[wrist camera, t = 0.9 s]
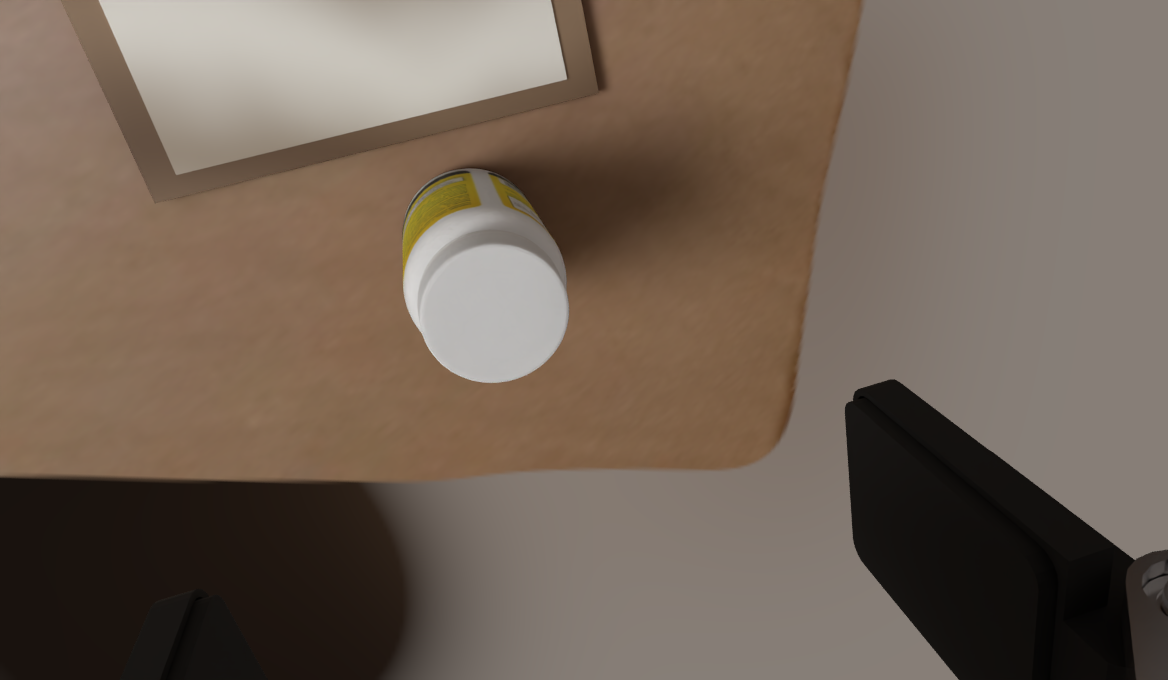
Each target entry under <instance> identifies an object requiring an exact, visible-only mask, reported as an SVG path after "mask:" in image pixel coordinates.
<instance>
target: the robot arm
mask: <svg viewBox="0 0 1168 680" xmlns="http://www.w3.org/2000/svg"><path fill="white" fill-rule="evenodd" d="M845 420H846V436H847V451H848V467H849V482H850V498H851V513H852V529H853V540H854V545H855V548H856V551H857V553H858V555H859V557H860V559H861V561H862V562H863V563H864V565H865V566H866V567H867V568H868V570H869V571H870V572H871V573H872V574H873V576H874V577H875V578H876V579H877V581H878V582H879V583H880V584H881V585H882V587H883V588H884V589H885V590H886V592H887V593H888V594H889V595H890V596H891V598H892V599H893V600H894V601H895V603H896V604H897V605H898V606H899V607H900V609H901V610H902V611H903V612H904V614H905V615H906V616H907V617H908V618H909V620H910V621H911V622H912V623H913V624H914V626H915V627H916V628H917V629H918V631H919V632H920V633H921V634H922V635H923V637H924V638H925V639H926V640H927V642H928V643H929V644H930V645H931V646H932V648H933V649H934V650H935V651H936V653H938V655H939V656H940V657H941V659H942V660H943V661H944V662H945V663H946V665H947V666H948V667H949V668H950V670H952V672H953V673H954V674H955V676H956V677H957V678H958V679H959V680H1168V550H1162V551H1155V552H1151V553H1148V554H1146V555H1144V556H1142V557H1139V558H1137V559H1136V560H1134V559H1133V558H1131V557H1130V556H1129V555H1127V554H1126V553H1125V552H1123V551H1122V550H1121V549H1119V548H1118V547H1117V546H1115V545H1114V544H1113V543H1112V542H1110V541H1109V540H1108V539H1106V538H1105V537H1104V536H1102V535H1101V534H1100V533H1098V532H1097V531H1096V530H1094V529H1093V528H1092V527H1090V526H1089V525H1088V524H1086V523H1085V522H1084V521H1083V520H1081V519H1080V518H1079V517H1077V516H1076V515H1074V514H1073V513H1072V512H1071V511H1069V510H1068V509H1067V508H1065V507H1064V506H1063V505H1062V504H1060V503H1059V502H1058V501H1056V500H1055V499H1054V498H1052V497H1051V496H1050V495H1048V494H1047V493H1046V492H1044V491H1043V490H1042V489H1040V488H1039V487H1038V486H1036V485H1035V484H1034V483H1033V482H1031V481H1030V480H1029V479H1027V478H1026V477H1025V476H1023V475H1022V474H1020V473H1019V472H1018V471H1017V470H1015V469H1014V468H1013V467H1011V466H1010V465H1009V464H1007V463H1006V462H1005V461H1003V460H1002V459H1001V458H1000V457H998V456H997V455H996V454H994V453H993V452H991V451H990V450H988V449H987V448H986V447H984V446H983V445H982V444H980V443H979V442H978V441H976V440H975V439H974V438H972V437H971V436H970V435H968V434H967V433H966V432H964V431H963V430H962V429H960V428H959V427H958V426H957V425H955V424H954V423H953V422H951V421H950V420H949V419H947V418H946V417H945V416H943V415H942V414H941V413H939V412H938V411H937V410H936V409H934V408H933V407H931V406H930V405H929V404H928V403H926V402H925V401H924V400H922V399H921V398H920V397H918V396H917V395H916V394H915V393H913V392H912V391H910V390H909V389H908V388H907V387H905V386H904V385H903V384H901V383H900V382H898V381H896V380H887V381H884V382H881V383H877V384H874V385H871V386H867V387H864V388H861V389H858V390H857V391H855V393H854V396H853V401H851V402H848V403H847V404H846V407H845ZM120 680H268V679H267V678H266V676H265V674H264V672H263V670H262V669H261V667H260V665H259V663H258V661H257V660H256V658H255V656H254V654H253V652H252V650H251V649H250V647H249V645H248V643H247V642H246V640H245V638H244V636H243V634H242V632H241V631H240V629H239V627H238V625H237V624H236V622H235V620H234V618H233V616H232V614H231V613H230V611H229V609H228V607H227V605H226V604H225V602H224V600H223V599H222V598H221V597H220V596H219V595H212V596H208V594H207V593H206V592H205V591H203V590H202V589H196V590H192V591H189V592H186V593H183V594H179V595H176V596H172V597H169V598H166V599H163V600H159V601H157V602H156V603H154V604H153V605H152V607H151V608H150V610H149V613H148V615H147V617H146V620H145V622H144V624H143V627H142V629H141V632H140V634H139V636H138V639H137V641H136V643H135V645H134V648H133V650H132V653H131V655H130V658H129V660H128V662H127V664H126V667H125V669H124V671H123V674H122V676H121V678H120Z"/></svg>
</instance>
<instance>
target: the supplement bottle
mask: <svg viewBox="0 0 1168 680" xmlns="http://www.w3.org/2000/svg"><path fill="white" fill-rule="evenodd" d="M402 240H403V290H404V297H405V302H406V305H407V308H408V311H409V313H410V316H411V318H412V319H413V321H414V323H415V325H416V326H417V328H418V329H419V330H420V332H421V333H422V335H423V337H424V340H425V342H426V344H427V346H428V348H429V350H430V351H431V353H432V354H433V355H434V356H435V358H436V359H437V360H438V361H439V362H440V363H441V364H442V365H443V366H445V367H446V368H447V369H449V370H450V371H451V372H453V373H455V374H457V375H459V376H461V377H464V378H466V379H469V380H473V381H478V382H487V383H498V382H505V381H511V380H514V379H517V378H520V377H523V376H525V375H527V374H529V373H531V372H533V371H534V370H536V369H537V368H539V367H540V366H541V365H543V364H544V363H545V362H546V361H547V360H548V359H549V358H550V357H551V356H552V355H553V353H554V352H555V351H556V349H557V348H558V346H559V345H560V343H561V341H562V339H563V337H564V334H565V331H566V328H567V324H568V318H569V302H568V296H567V292H566V281H567V279H566V270H565V265H564V261H563V258H562V255H561V253H560V250H559V248H558V246H557V244H556V242H555V240H554V239H553V238H552V236H551V235H550V233H549V232H548V230H547V229H546V227H545V226H544V224H543V223H542V221H541V220H540V218H539V217H538V215H537V214H536V212H535V211H534V209H533V208H532V206H531V205H530V203H529V201H528V200H527V198H526V197H525V196H524V194H523V193H522V192H521V191H520V190H519V189H518V188H517V187H516V186H515V185H514V184H513V183H512V182H510V181H509V180H507V179H506V178H504V177H502V176H500V175H498V174H496V173H494V172H491V171H487V170H482V169H473V168H467V169H458V170H453V171H449V172H446V173H443V174H441V175H439V176H437V177H435V178H433V179H432V180H430V181H429V182H428V183H426V184H425V185H424V186H423V187H422V188H421V189H420V190H419V191H418V192H417V193H416V195H415V196H414V198H413V199H412V201H411V203H410V205H409V207H408V209H407V212H406V215H405V219H404V224H403V232H402Z"/></svg>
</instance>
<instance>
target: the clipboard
mask: <svg viewBox="0 0 1168 680" xmlns="http://www.w3.org/2000/svg"><path fill="white" fill-rule="evenodd" d="M61 2H62V4H63V6H64V8H65V10H66V13H67V15H68V17H69V19H70V21H71V23H72V25H73V28H74V30H75V32H76V34H77V36H78V38H79V41H80V43H81V45H82V47H83V49H84V51H85V53H86V56H87V58H88V60H89V62H90V64H91V66H92V69H93V71H94V73H95V75H96V77H97V79H98V82H99V84H100V86H101V88H102V90H103V92H104V94H105V97H106V99H107V101H108V103H109V105H110V107H111V110H112V112H113V114H114V116H115V118H116V120H117V122H118V125H119V127H120V129H121V131H122V133H123V135H124V138H125V140H126V142H127V144H128V146H129V148H130V151H131V153H132V155H133V157H134V159H135V161H136V163H137V166H138V168H139V170H140V172H141V174H142V176H143V179H144V181H145V183H146V185H147V187H148V189H149V191H150V194H151V196H152V198H153V200H154V202H155V203H159V202H163V201H167V200H171V199H175V198H179V197H183V196H187V195H191V194H195V193H199V192H203V191H207V190H211V189H215V188H219V187H223V186H227V185H231V184H235V183H239V182H243V181H247V180H251V179H255V178H259V177H263V176H267V175H271V174H275V173H279V172H283V171H288V170H292V169H296V168H300V167H304V166H308V165H312V164H316V163H320V162H324V161H328V160H332V159H336V158H340V157H344V156H348V155H352V154H356V153H360V152H364V151H368V150H372V149H376V148H380V147H384V146H388V145H392V144H396V143H400V142H404V141H408V140H412V139H416V138H420V137H424V136H428V135H433V134H437V133H441V132H445V131H449V130H453V129H457V128H461V127H465V126H469V125H473V124H477V123H481V122H485V121H489V120H493V119H497V118H501V117H505V116H509V115H513V114H517V113H521V112H525V111H529V110H533V109H537V108H541V107H545V106H549V105H553V104H557V103H561V102H565V101H569V100H573V99H578V98H582V97H586V96H590V95H594V94H598V93H599V91H598V86H597V81H596V75H595V70H594V65H593V60H592V54H591V49H590V44H589V39H588V33H587V28H586V23H585V18H584V12H583V7H582V2H581V0H61Z"/></svg>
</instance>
